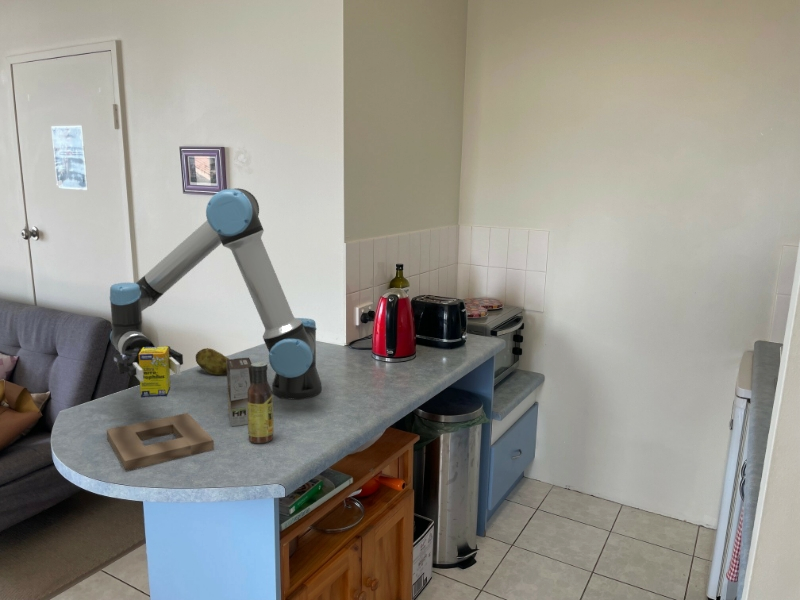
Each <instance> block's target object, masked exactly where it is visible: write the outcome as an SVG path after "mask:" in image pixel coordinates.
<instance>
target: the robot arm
mask: <svg viewBox="0 0 800 600" xmlns="http://www.w3.org/2000/svg"><path fill="white" fill-rule="evenodd" d="M205 216H206V221H204V222H203V223H202V224H201V225H200V226H199V227H198V228H197V229H195V231H193V232H192V233H191V234H190V235H189V236H187V237H186V238H185V239H183V241H182V242H181V243H179V244H178V245H177V246H176V247H175V248H174V249H173V250H171V251H170V252H169V253H168V254H167V255H165V257H164V258H162V259H161V260H160V261H159V262H158V263H157V264H156V265H155V266H153V267H152V268H151V269H150V270H149V271H148V272H147V273H146V274H144V275H143V276H142V277H141V278H139V279H138V280H137V281H136V282H119V283H114V284H112V285H111V286H110V289H109V301H110V302H109V303H110V310H111V311H110V312H111V313H110V314H111V323H112V325H111V329H112V330H111V331H110V335H109V339H110V342H111V344H112V345H113V348H114V349H115V350H117V352H115V353H113V364H115V365H116V366H117V372H118V374H119V375H122V374H125V373H127V377H133V376H135V377H136V379H137V380H138V381H139V383H140V382H141V381H144V380H143V369H142V368H141V367H140V366H139V353H140V351H141V350H142V348H143V347H156V346H155V345H154V343H153V341H151V340H150V339H149V338H148V337H147V336H146V335H144V334H143V319H142V318H143V314H142V312H143V311H144V310H146V309H147V308H149V307H151V306H153V305H154V304H155V303H156V302H157V301H158V300H159V299H160V298H161V297H162V296H163V295H164V294H165V293H167V291H169V290H170V289H171V288H172V287H173V286H175V284H176V283H177V284H178V282H179V281H180V280H181V279H182V278H184V277H185V276H186V275H187V274H189V272H190V271H192V270H193V269H194V268H195V267H196V266H197V265H199V264H200V262H202V261H203V260H205V258H207V256H209V255H211V253H212V252H213V251H214V250H216V249H217V248H218V247H219V246H220V245H222V246H223V247H224V248H226V249H229V250H230V251H231V253H232V255H233V257H234V260H235V262H236V264H237V265H236V266H237V267H238V270H239V271H240V274H241V276H242V278H243V281H244V283H245V285H246V288H247V291H248V293H249V295H250V298H251V299H252V301H253V302H252V303H253V304H254V307H255V309H256V311H257V313H258V315H259V318H260V320H261V323H262V325H263V327H264V332H263V335H262V339H263V342H264V343H265V346H266V349H267V351H268V361H269V362H268V363H269V365H270V367H271V369H272V370H273V371H274V372H275V374H274V378H273V380H272V381H273V382H272V385H271V391H272V393H273V395H274V396H275V397H278V398H281V399H286V400H287V399H288V400H303V399H309V398H312V397H315V396H317V395H319V394H320V393H321V392H322V380H321V378H320V375H319V373H318V369H317V364H316V360H317V358H316V357H317V354H316V353H317V352H316V347H317V341H316V340H317V339H316V338H317V337H316V336H317V326H316V321H315V320H314V319H312V318H306V317H305V318H304V317H295V316H294V315H293V311H292V309H291V306H290V304H289V301H288V299H287V297H286V295H285V292H284V290H283V288H282V286H281V283H280V281H279V277H278V276H277V273H276V271H275V269H274V267H273V263H272V261H271V259H270V256H269V254H268V252H267V249H266V246H265V245H264V242H263V239H262V236H263V234H264V232H265V230H264V228H263V224H262V223H261V221H260V218H259V216H260V206H259V202H258V200H257V198H256V197H255V196H254V194H253V193H251V192H250V191H248V190H246V189H244V188H239V187H238V188H226V189H222V190H220V191H217V192H216V193H215V194H214V195H213V196H211V198H210V199H209V201H208V202H207V205H206V209H205ZM165 347H169V366H170V370H171V371H172V372H173V373H174V374H175V375H176V376H181V366H182V365H184V355H183V354H182V353H180V352H179V351H176V350H174V349H173V348H171V346H168V345H166V346H165ZM125 361H126V364H125V363H124V362H125Z"/></svg>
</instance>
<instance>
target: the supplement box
mask: <svg viewBox="0 0 800 600" xmlns="http://www.w3.org/2000/svg"><path fill="white" fill-rule="evenodd" d="M139 366H140V367H141V368H142V369H143V380H144V381H141V382H140V381H139V383H140V384H139V385H140V386H139V388H140V397H141V398H142V399H144V398H157V397H161V398H162V397H167V398H168V395H169V392H170V389H171V373H170V372H171V371H170V370H171V369H170V366H169V347H166V346H155V347H143V348H142V350H141V351H140V353H139Z"/></svg>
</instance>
